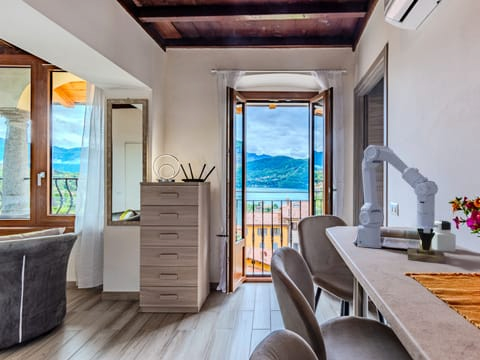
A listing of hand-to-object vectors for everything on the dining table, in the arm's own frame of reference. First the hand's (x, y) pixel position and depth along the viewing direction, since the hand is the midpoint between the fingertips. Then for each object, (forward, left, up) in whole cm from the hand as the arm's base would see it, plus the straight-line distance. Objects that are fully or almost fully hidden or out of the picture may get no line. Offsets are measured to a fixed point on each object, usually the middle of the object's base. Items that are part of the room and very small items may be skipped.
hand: (425, 248), depth 123 cm
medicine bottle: (+7, +17, -4) cm, 19 cm away
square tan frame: (0, 0, -3) cm, 3 cm away
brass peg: (0, 0, -4) cm, 4 cm away
